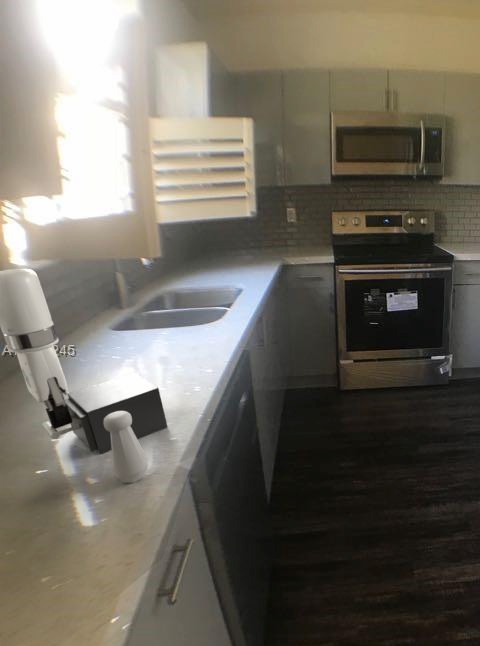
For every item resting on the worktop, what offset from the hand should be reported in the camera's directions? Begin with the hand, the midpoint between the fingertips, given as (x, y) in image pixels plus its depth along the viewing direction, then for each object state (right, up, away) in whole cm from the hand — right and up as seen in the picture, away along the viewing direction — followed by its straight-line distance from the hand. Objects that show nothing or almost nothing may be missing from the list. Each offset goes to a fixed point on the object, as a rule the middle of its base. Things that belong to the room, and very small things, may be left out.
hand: (62, 424), depth 91 cm
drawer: (+4, -3, +6) cm, 8 cm away
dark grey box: (+7, -3, +9) cm, 12 cm away
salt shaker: (+18, -9, -6) cm, 21 cm away
